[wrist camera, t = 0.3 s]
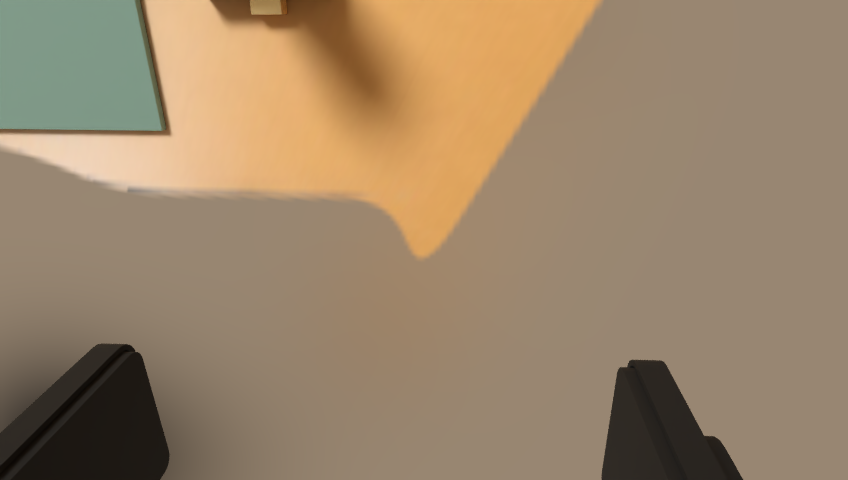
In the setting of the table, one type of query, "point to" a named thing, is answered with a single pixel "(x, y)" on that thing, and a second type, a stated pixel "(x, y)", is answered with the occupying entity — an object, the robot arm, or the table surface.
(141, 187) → the table surface
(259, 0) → the grey picture frame
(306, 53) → the table surface
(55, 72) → the mat
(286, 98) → the table surface
